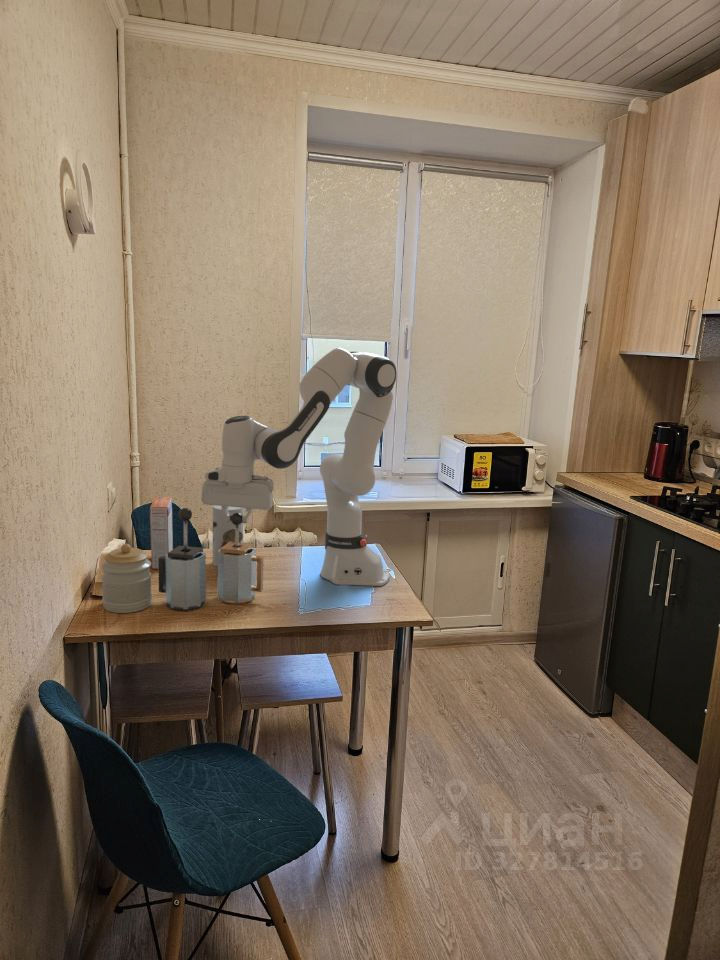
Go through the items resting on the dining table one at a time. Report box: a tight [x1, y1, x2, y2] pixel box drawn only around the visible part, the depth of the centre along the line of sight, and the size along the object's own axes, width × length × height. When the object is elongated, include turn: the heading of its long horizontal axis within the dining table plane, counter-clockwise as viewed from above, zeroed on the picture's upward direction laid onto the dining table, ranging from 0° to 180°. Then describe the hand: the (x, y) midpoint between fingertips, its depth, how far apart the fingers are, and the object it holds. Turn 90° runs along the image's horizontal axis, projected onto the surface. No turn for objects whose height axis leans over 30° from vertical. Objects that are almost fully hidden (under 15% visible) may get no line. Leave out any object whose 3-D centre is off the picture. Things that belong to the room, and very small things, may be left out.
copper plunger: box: [231, 513, 243, 555], centre depth 189 cm, size 8×8×17 cm
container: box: [212, 505, 245, 568], centre depth 220 cm, size 10×10×20 cm
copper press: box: [217, 542, 264, 605], centre depth 191 cm, size 13×10×16 cm
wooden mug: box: [216, 529, 244, 578], centre depth 206 cm, size 9×14×18 cm, turn 13°
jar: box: [100, 543, 153, 614], centre depth 182 cm, size 13×13×18 cm
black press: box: [158, 545, 207, 612], centre depth 185 cm, size 13×10×16 cm
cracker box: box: [149, 496, 174, 570], centre depth 218 cm, size 14×6×21 cm, turn 10°
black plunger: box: [178, 507, 193, 560], centre depth 183 cm, size 8×8×17 cm
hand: (237, 521), depth 188 cm, fingers closed on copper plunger, 4 cm apart
